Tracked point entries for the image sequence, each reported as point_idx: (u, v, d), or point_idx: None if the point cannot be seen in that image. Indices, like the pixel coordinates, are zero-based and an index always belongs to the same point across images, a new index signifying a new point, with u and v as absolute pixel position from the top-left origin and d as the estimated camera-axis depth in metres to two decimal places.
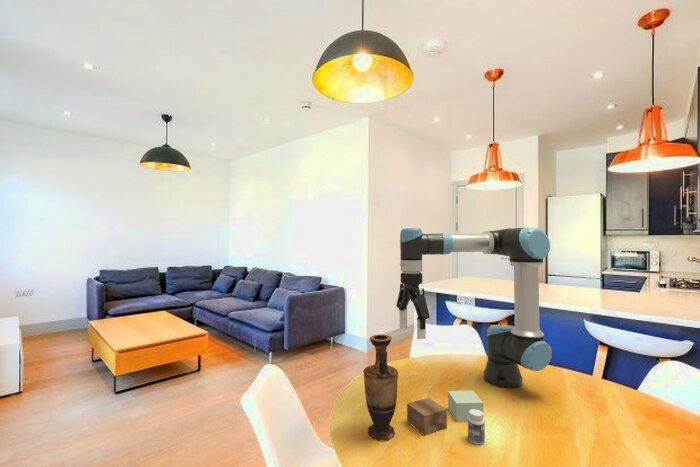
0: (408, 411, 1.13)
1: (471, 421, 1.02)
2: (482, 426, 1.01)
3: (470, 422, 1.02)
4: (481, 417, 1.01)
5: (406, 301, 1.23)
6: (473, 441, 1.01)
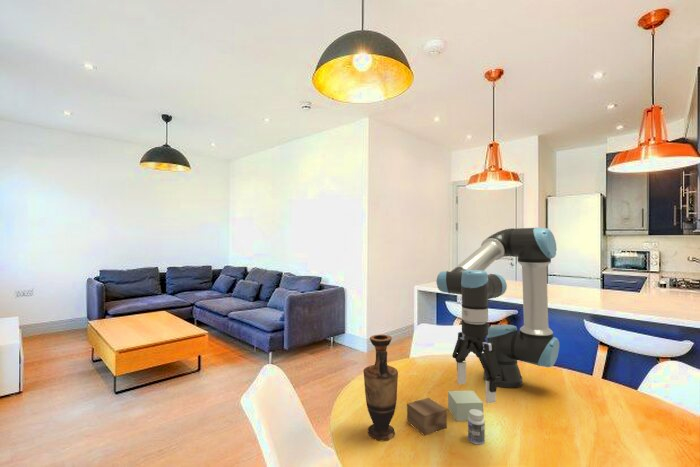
0: (408, 411, 1.13)
1: (471, 421, 1.02)
2: (482, 426, 1.01)
3: (470, 422, 1.02)
4: (481, 417, 1.01)
5: (466, 353, 1.07)
6: (473, 441, 1.01)
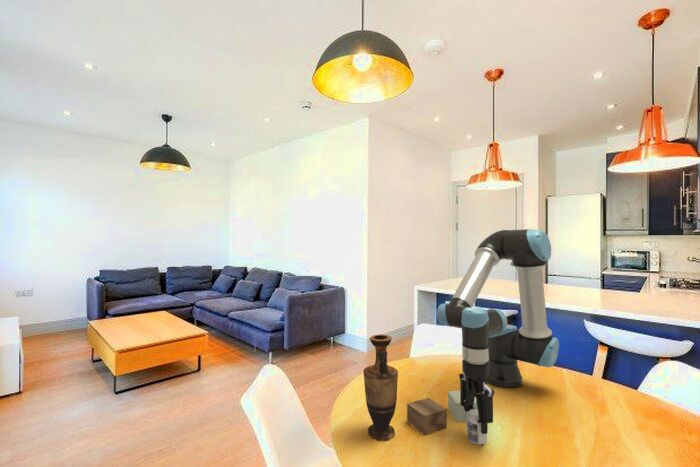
0: (408, 411, 1.13)
1: (471, 421, 1.02)
2: None
3: (470, 422, 1.02)
4: None
5: (472, 396, 1.05)
6: (473, 441, 1.01)
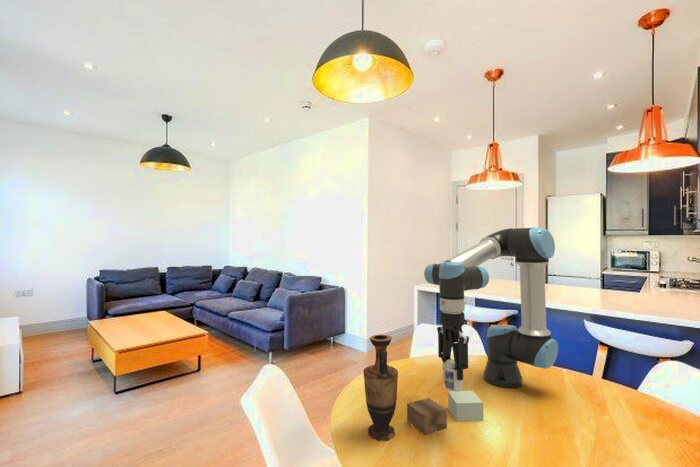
0: (408, 411, 1.13)
1: (448, 369, 1.06)
2: None
3: (446, 370, 1.06)
4: None
5: (449, 347, 1.09)
6: (450, 388, 1.05)
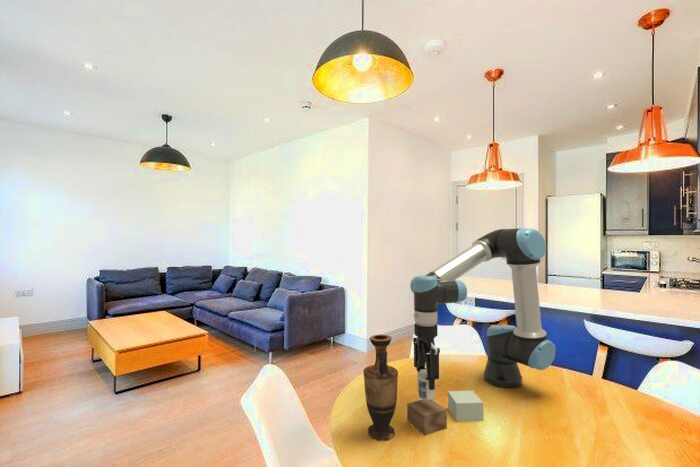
0: (408, 411, 1.13)
1: (421, 379, 1.10)
2: None
3: (419, 380, 1.11)
4: None
5: (423, 357, 1.14)
6: (422, 397, 1.10)
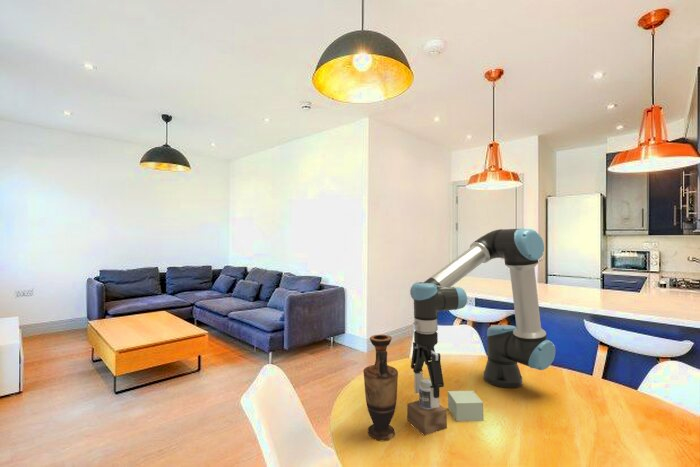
0: (408, 411, 1.13)
1: (421, 388, 1.10)
2: None
3: (420, 389, 1.11)
4: (430, 384, 1.10)
5: (421, 362, 1.15)
6: (423, 407, 1.10)
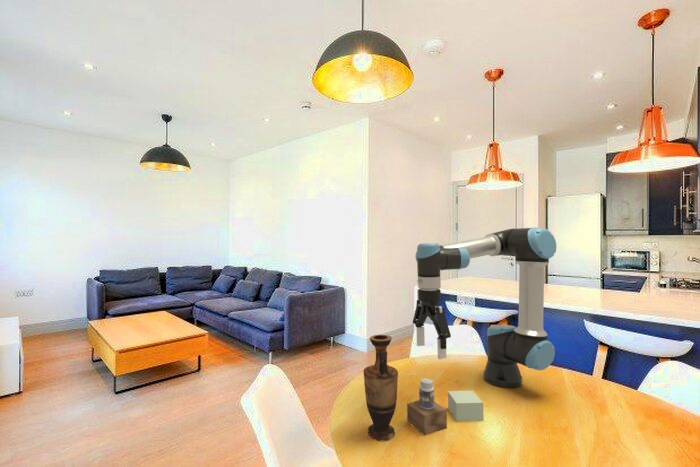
0: (408, 411, 1.13)
1: (422, 388, 1.10)
2: (431, 393, 1.10)
3: (420, 389, 1.11)
4: (430, 385, 1.10)
5: (424, 318, 1.20)
6: (423, 407, 1.10)
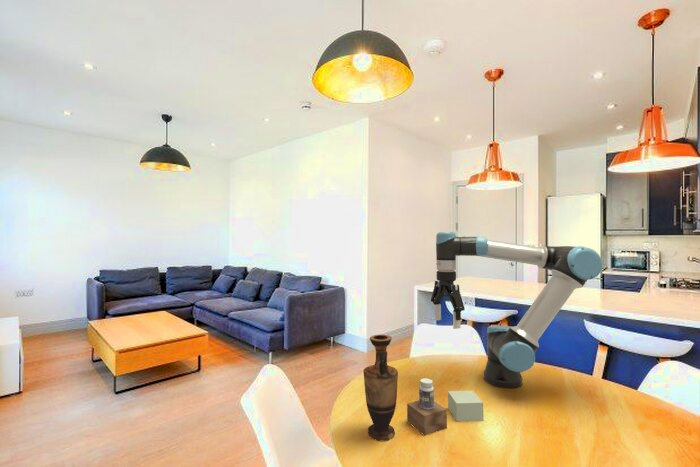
0: (408, 411, 1.13)
1: (422, 388, 1.10)
2: (431, 393, 1.10)
3: (420, 389, 1.11)
4: (430, 384, 1.10)
5: (441, 296, 1.40)
6: (423, 407, 1.10)
